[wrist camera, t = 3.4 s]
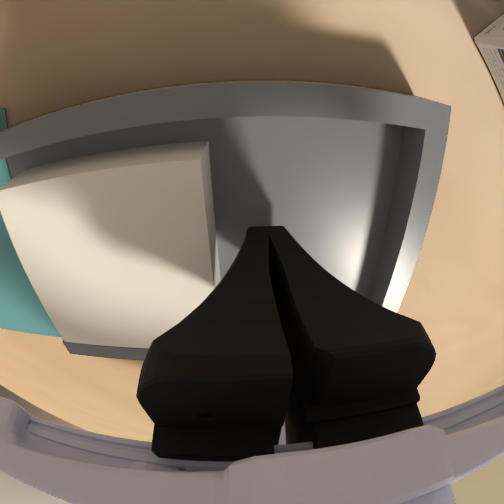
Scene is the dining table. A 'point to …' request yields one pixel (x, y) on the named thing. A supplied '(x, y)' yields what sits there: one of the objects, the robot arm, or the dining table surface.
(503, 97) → the light bulb box
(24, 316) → the teal mat
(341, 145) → the open box
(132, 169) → the cover plate
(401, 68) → the dining table surface
